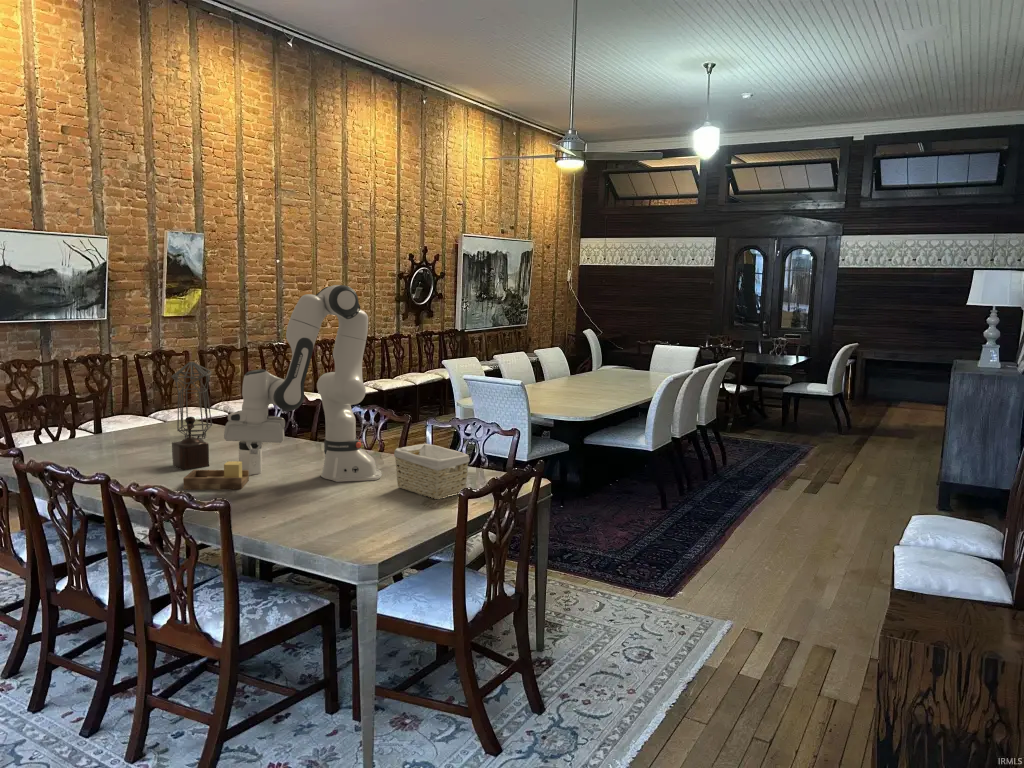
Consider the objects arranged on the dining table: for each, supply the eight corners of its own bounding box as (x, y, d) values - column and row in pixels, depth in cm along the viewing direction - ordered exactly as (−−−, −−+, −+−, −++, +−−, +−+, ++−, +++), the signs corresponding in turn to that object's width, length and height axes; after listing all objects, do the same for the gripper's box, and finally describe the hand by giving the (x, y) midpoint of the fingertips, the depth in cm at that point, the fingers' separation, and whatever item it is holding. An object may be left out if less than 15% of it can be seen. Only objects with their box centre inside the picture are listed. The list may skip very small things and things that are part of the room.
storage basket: (470, 494, 269) (471, 453, 267) (436, 502, 257) (437, 460, 255) (425, 481, 285) (426, 442, 283) (391, 488, 273) (392, 448, 271)
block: (242, 477, 272) (242, 461, 272) (238, 481, 267) (238, 464, 267) (227, 477, 272) (227, 461, 271) (224, 481, 267) (223, 464, 266)
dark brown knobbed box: (211, 466, 296) (210, 420, 293) (183, 470, 288) (182, 423, 285) (194, 459, 306) (193, 415, 304) (166, 463, 298) (165, 418, 296)
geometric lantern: (210, 440, 341) (207, 363, 336) (173, 442, 338) (169, 364, 333) (216, 433, 357) (212, 359, 351) (180, 434, 353) (176, 360, 348)
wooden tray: (248, 480, 276) (248, 470, 276) (241, 489, 264) (241, 478, 264) (193, 480, 274) (193, 469, 273) (183, 489, 262) (183, 478, 262)
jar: (243, 476, 282) (243, 444, 281) (234, 471, 288) (234, 440, 287) (266, 472, 288) (266, 442, 287) (257, 468, 294) (257, 438, 293)
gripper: (286, 415, 272) (285, 453, 273) (227, 413, 269) (227, 451, 271) (283, 418, 266) (282, 456, 267) (223, 415, 263) (222, 454, 265)
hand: (254, 454), depth 269 cm, fingers closed
